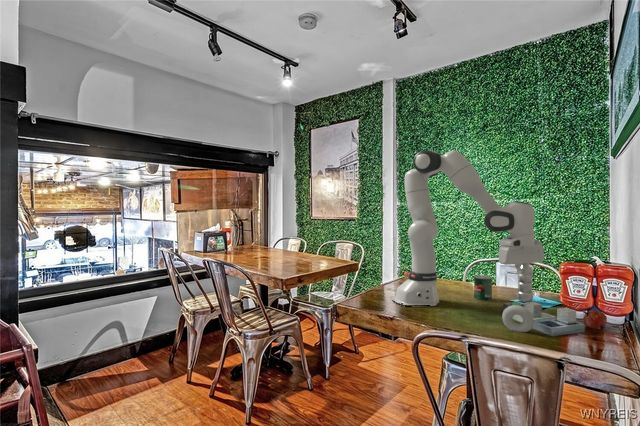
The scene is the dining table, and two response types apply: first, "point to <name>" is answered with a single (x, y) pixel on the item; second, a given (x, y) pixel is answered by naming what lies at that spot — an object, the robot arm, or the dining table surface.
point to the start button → (516, 303)
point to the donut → (521, 311)
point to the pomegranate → (595, 319)
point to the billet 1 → (534, 309)
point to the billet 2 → (566, 316)
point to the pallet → (557, 327)
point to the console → (510, 305)
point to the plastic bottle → (525, 286)
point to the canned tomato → (483, 288)
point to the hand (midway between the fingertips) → (521, 274)
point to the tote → (544, 317)
